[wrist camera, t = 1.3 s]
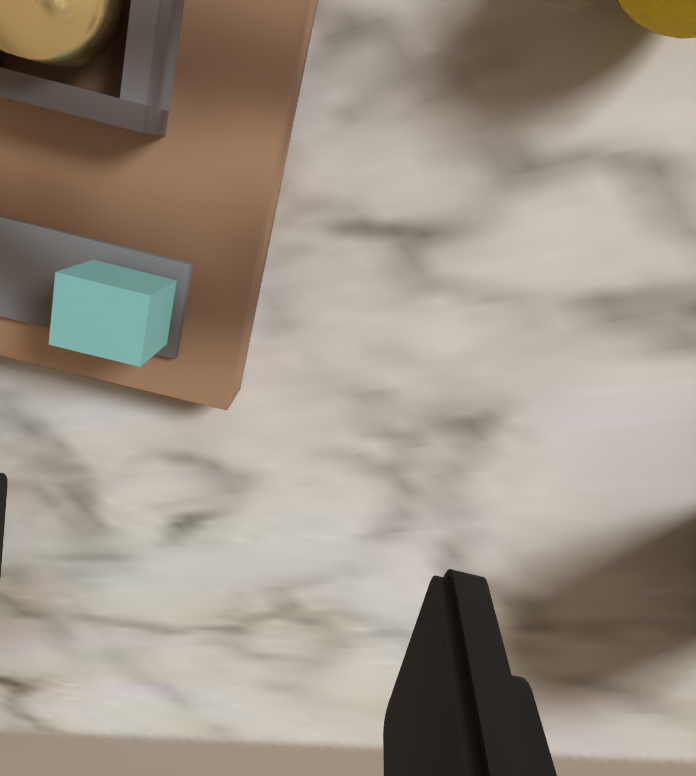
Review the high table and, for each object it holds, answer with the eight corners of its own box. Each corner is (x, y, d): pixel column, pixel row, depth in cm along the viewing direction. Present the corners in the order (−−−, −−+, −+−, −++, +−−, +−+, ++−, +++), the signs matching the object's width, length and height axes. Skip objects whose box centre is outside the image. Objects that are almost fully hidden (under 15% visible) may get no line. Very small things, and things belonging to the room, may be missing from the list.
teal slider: (92, 259, 23) (55, 272, 20) (176, 280, 23) (150, 295, 20) (85, 324, 23) (48, 344, 21) (166, 344, 24) (139, 367, 21)
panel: (-75, -515, 19) (-219, -733, 14) (393, -378, 19) (398, -544, 15) (-89, 309, 27) (-183, 338, 22) (239, 389, 27) (212, 433, 23)
